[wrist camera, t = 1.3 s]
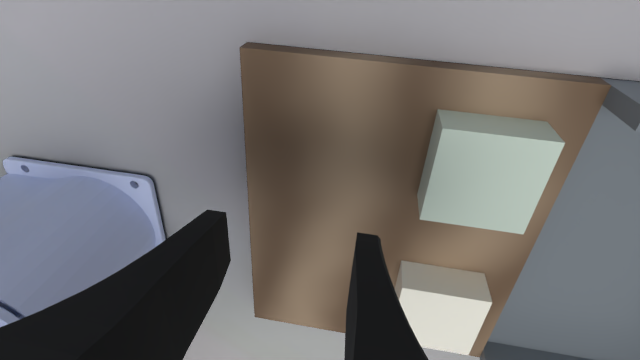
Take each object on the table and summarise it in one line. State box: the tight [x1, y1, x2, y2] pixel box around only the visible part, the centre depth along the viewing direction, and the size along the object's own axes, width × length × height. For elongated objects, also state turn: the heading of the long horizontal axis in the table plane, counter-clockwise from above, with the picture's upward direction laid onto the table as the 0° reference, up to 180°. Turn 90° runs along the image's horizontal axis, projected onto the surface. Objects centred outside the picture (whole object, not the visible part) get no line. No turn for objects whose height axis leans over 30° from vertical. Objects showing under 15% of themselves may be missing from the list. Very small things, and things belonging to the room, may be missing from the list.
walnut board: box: [240, 42, 612, 357], centre depth 21 cm, size 15×18×1 cm
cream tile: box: [395, 261, 492, 355], centre depth 21 cm, size 4×4×2 cm
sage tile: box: [417, 109, 565, 234], centre depth 16 cm, size 4×4×2 cm
